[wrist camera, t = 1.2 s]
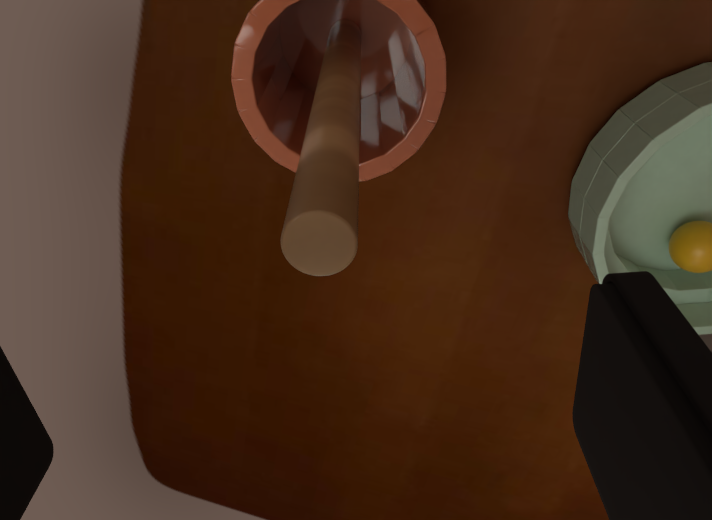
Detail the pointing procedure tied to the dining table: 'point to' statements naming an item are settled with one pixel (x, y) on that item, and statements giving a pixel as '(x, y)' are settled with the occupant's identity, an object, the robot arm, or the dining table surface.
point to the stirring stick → (329, 164)
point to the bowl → (650, 188)
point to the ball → (692, 246)
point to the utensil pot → (378, 76)
